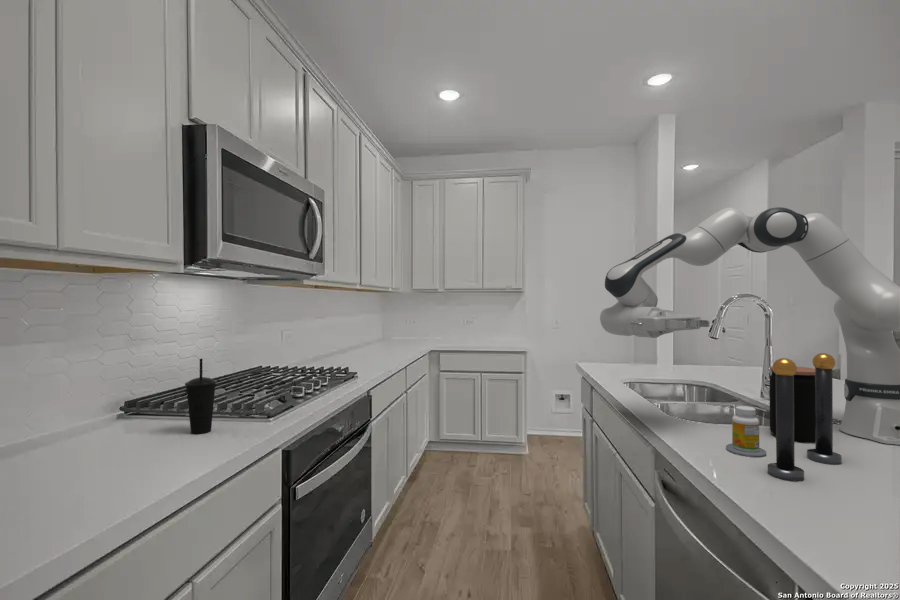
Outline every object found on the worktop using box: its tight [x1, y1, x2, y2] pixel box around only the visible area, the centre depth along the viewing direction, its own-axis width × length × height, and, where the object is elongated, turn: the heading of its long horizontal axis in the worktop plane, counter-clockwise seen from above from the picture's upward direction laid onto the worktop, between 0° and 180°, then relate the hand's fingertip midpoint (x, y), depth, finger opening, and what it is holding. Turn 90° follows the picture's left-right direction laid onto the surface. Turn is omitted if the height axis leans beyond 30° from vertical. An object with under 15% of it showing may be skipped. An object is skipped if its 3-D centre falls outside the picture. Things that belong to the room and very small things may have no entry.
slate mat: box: [725, 443, 767, 458], centre depth 108 cm, size 8×8×1 cm
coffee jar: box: [769, 365, 815, 443], centre depth 119 cm, size 11×11×18 cm
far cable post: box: [806, 352, 843, 466], centre depth 102 cm, size 6×6×24 cm
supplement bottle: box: [731, 405, 760, 452], centre depth 108 cm, size 5×5×10 cm
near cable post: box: [767, 357, 805, 482], centre depth 93 cm, size 6×6×24 cm
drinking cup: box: [184, 358, 217, 435], centre depth 124 cm, size 8×8×20 cm
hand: (697, 324), depth 118 cm, fingers open, 8 cm apart
